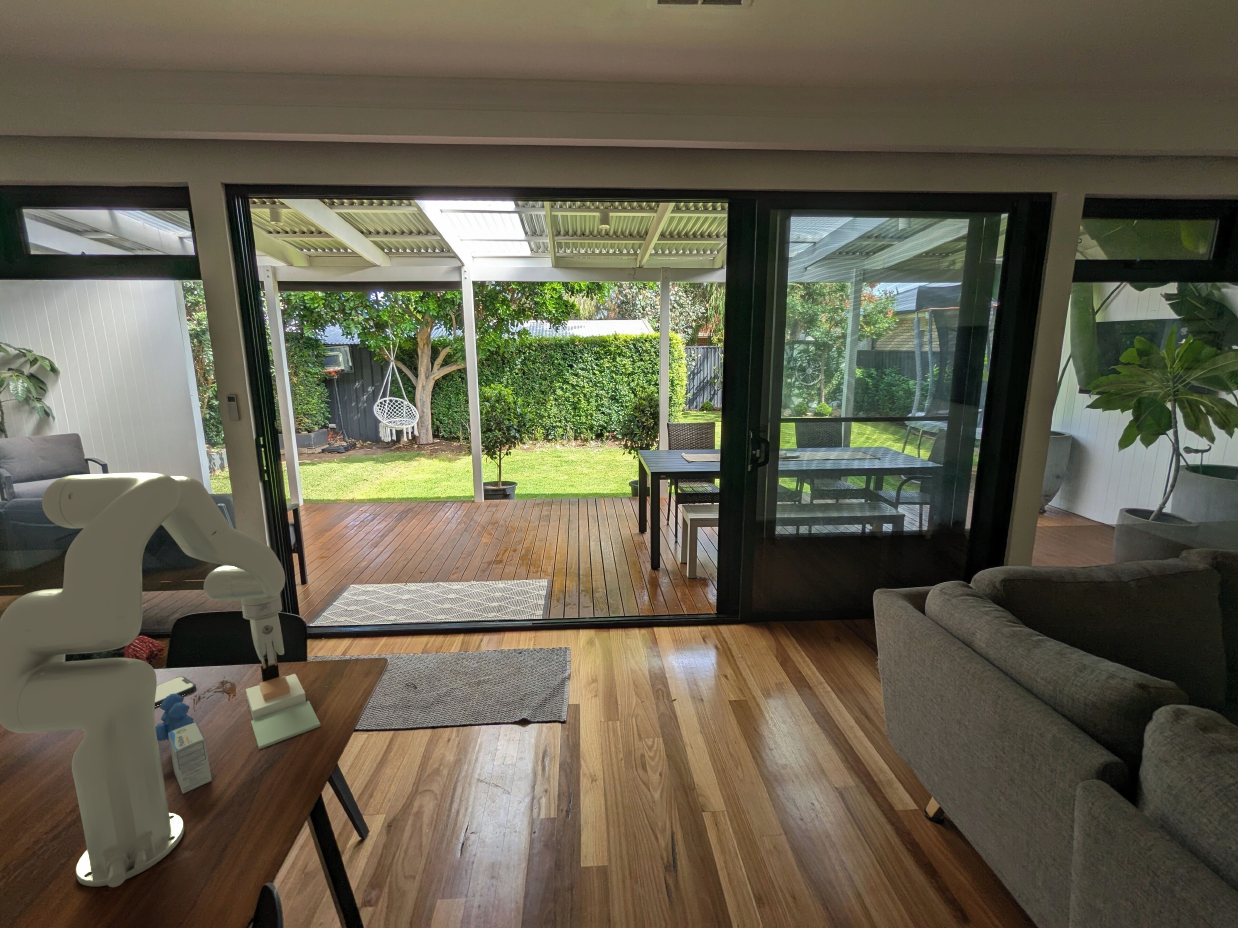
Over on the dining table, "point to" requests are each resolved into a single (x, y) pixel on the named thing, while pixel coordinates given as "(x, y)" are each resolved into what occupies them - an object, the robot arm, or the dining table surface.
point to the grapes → (172, 716)
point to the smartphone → (173, 688)
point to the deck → (275, 699)
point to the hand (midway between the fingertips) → (271, 680)
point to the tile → (274, 688)
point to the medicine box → (189, 757)
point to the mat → (284, 724)
